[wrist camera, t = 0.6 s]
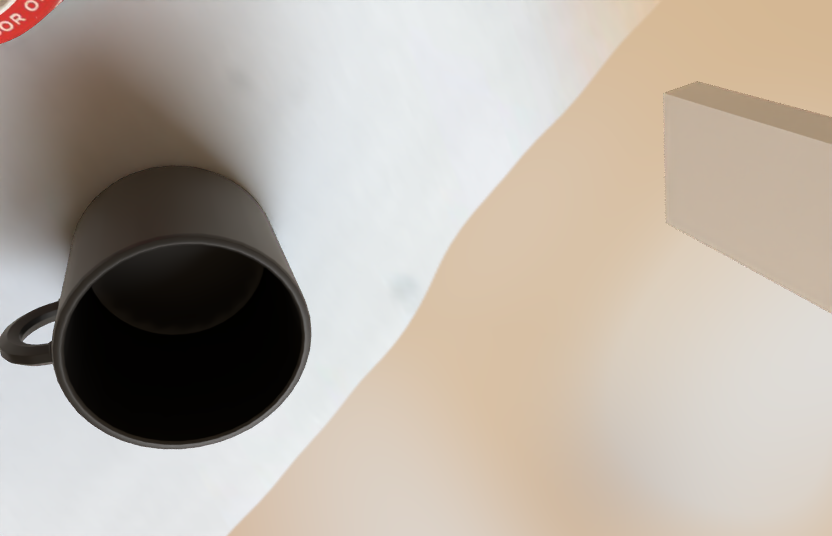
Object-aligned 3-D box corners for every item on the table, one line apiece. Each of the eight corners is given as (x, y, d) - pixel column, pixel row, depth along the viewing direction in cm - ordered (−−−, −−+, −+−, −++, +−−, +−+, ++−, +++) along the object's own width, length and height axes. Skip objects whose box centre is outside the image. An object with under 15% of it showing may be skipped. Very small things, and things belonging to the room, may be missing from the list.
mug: (-22, 197, 30) (-78, 288, 22) (255, 146, 33) (291, 210, 25) (51, 373, 34) (25, 501, 26) (289, 313, 37) (328, 411, 30)
